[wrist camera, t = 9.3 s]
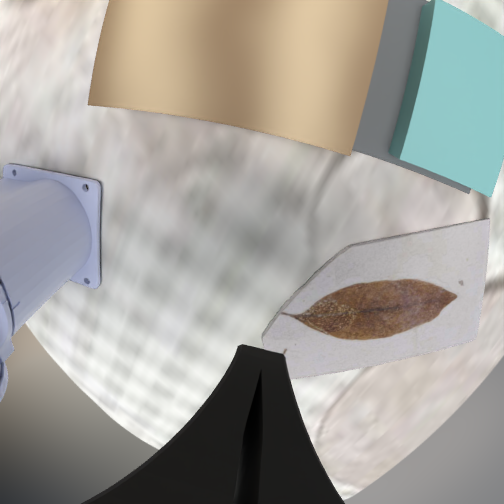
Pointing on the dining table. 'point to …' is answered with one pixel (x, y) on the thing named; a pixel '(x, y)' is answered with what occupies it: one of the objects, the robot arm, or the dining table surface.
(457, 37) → the turquoise rectangular block
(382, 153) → the mat
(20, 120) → the dining table surface
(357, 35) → the block
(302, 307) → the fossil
